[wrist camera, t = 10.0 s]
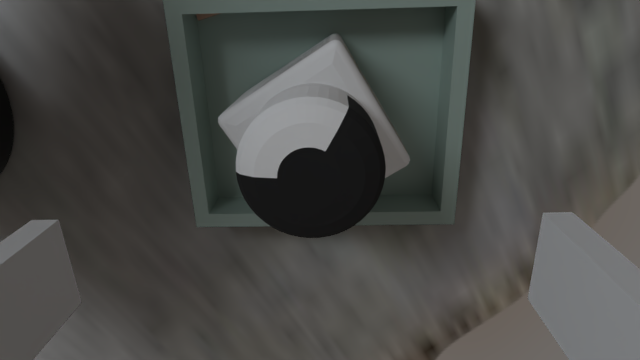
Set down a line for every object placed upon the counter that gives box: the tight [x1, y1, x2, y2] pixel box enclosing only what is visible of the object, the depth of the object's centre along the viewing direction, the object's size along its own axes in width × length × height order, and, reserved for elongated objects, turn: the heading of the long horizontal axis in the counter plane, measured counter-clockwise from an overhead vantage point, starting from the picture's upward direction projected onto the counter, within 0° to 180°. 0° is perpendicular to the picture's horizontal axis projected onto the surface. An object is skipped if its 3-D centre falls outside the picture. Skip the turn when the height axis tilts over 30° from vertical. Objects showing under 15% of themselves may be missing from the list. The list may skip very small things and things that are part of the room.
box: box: [163, 0, 476, 227], centre depth 29 cm, size 18×15×4 cm
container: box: [218, 33, 410, 238], centre depth 24 cm, size 8×8×13 cm
